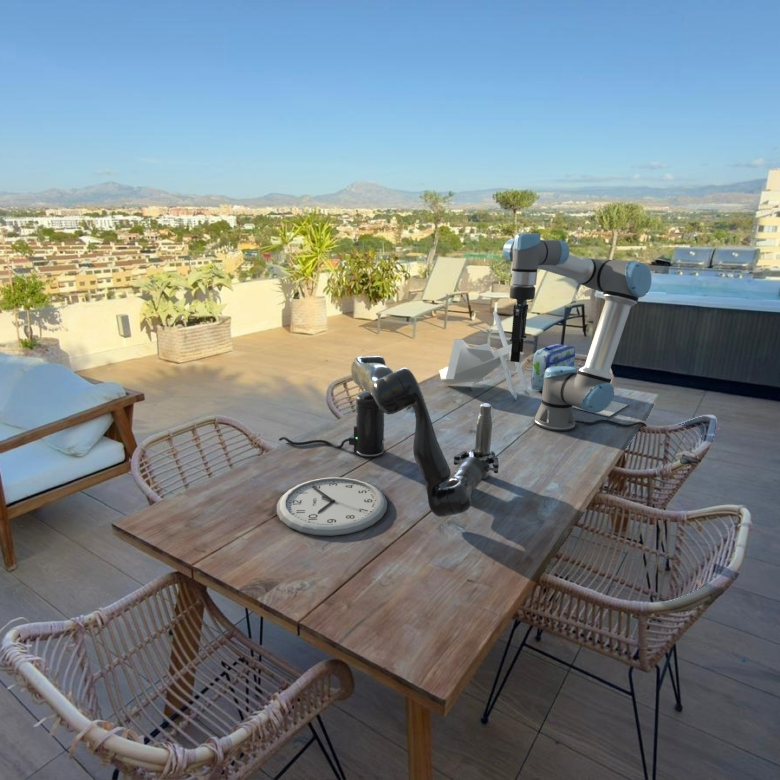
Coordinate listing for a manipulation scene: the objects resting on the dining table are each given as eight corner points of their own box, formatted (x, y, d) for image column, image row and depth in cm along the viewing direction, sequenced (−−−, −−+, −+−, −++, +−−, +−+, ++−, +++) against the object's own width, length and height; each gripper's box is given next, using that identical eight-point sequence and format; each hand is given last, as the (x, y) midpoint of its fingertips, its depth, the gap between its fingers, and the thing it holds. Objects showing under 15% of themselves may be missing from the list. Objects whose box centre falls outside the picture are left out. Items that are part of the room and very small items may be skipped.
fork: (403, 410, 217) (403, 406, 216) (415, 399, 231) (415, 395, 231) (409, 411, 216) (409, 406, 215) (420, 400, 230) (420, 395, 230)
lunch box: (547, 396, 238) (552, 351, 232) (526, 391, 246) (531, 347, 239) (574, 385, 256) (579, 343, 250) (554, 380, 263) (559, 340, 257)
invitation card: (608, 416, 214) (573, 407, 224) (608, 416, 214) (573, 408, 224) (628, 404, 229) (594, 396, 238) (628, 405, 229) (594, 397, 238)
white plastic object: (461, 429, 252) (437, 405, 227) (444, 352, 274) (420, 323, 250) (535, 404, 240) (518, 377, 215) (510, 326, 262) (492, 293, 237)
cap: (518, 357, 169) (519, 350, 169) (525, 360, 165) (526, 353, 165) (506, 358, 168) (507, 351, 168) (513, 361, 164) (513, 354, 163)
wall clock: (392, 527, 129) (268, 531, 127) (391, 533, 130) (269, 537, 127) (383, 473, 158) (282, 475, 155) (383, 478, 158) (282, 480, 156)
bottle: (488, 473, 163) (494, 403, 156) (487, 479, 159) (493, 408, 152) (473, 471, 164) (479, 401, 157) (472, 477, 160) (477, 406, 153)
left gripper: (494, 467, 143) (508, 445, 158) (444, 457, 149) (462, 437, 164) (492, 492, 145) (506, 468, 160) (443, 481, 151) (461, 459, 166)
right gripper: (515, 282, 169) (509, 353, 176) (505, 287, 153) (499, 364, 160) (539, 283, 166) (532, 355, 173) (531, 289, 151) (523, 367, 158)
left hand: (484, 452), depth 162 cm, fingers closed on bottle, 4 cm apart
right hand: (516, 359), depth 167 cm, fingers closed on cap, 4 cm apart
